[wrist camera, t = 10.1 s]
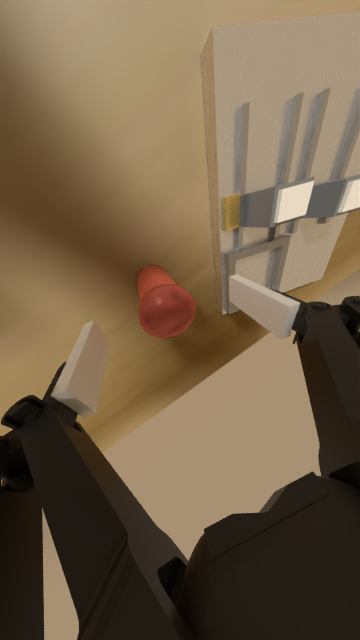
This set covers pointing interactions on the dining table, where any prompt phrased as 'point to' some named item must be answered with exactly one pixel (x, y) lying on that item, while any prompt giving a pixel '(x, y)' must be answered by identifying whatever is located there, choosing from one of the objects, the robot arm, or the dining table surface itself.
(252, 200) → the block
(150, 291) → the cap
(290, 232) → the panel
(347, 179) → the block
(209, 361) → the dining table surface
